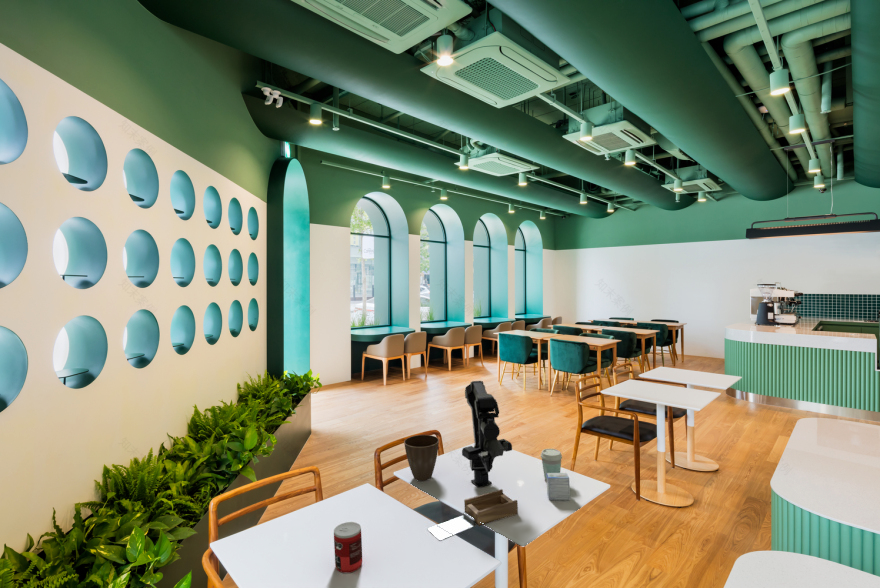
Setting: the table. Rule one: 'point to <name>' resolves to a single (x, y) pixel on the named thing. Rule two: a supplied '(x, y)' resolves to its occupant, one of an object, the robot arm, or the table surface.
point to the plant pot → (422, 455)
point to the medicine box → (558, 486)
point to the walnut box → (490, 507)
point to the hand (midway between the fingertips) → (488, 471)
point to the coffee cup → (551, 461)
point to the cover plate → (453, 527)
